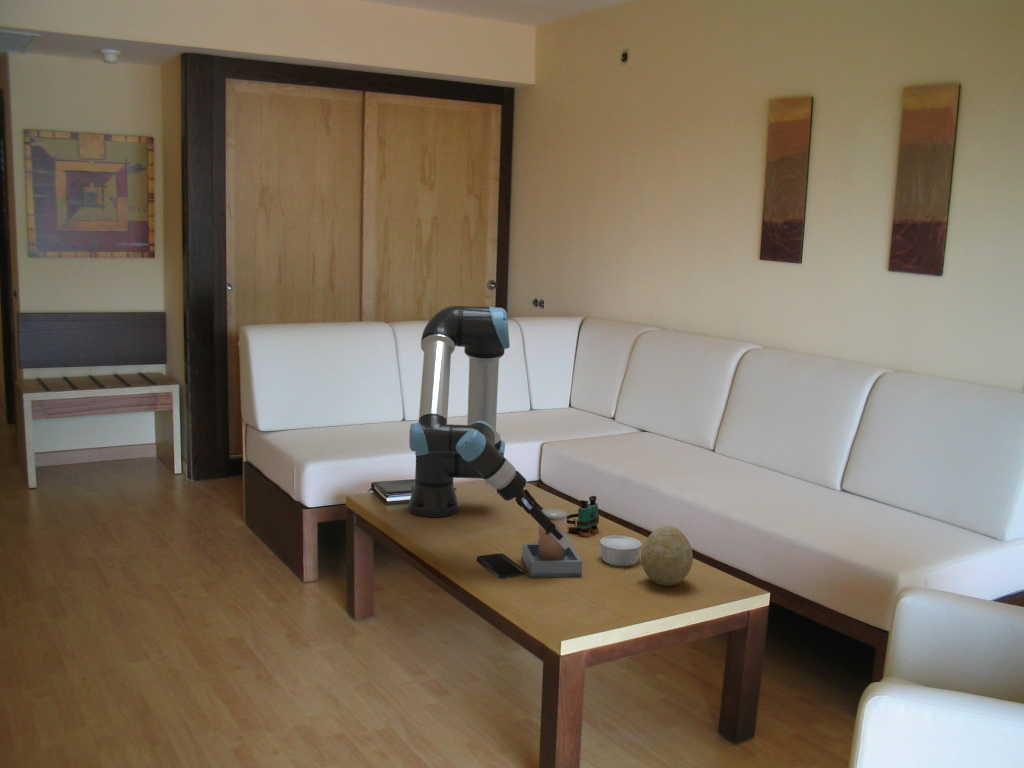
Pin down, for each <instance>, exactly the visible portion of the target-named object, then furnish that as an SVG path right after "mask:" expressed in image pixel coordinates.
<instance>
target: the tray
mask: <svg viewBox="0 0 1024 768" xmlns="http://www.w3.org/2000/svg"><path fill="white" fill-rule="evenodd" d="M521 545H522V546H521V559H522V562H523V564H524V565H525V568H526V570H527V572H528V574H529V576H530V578H531V579H533V578H575V577H576V578H577V577H578V578H579V577H581V578H582V575H583V573H582V572H583V560H582V559H581V557H580V556H579V554H578V552H577V550H576V549H575V548H574V546H573V545H572V544H571V545H570V546H569V547H568V548H567V549H566V550H565V559H564V560H559V561H544V560H541V559H539V558H538V542H537V543H536V542H535V543H522V544H521Z"/></svg>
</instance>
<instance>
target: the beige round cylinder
mask: <svg viewBox="0 0 1024 768" xmlns="http://www.w3.org/2000/svg"><path fill="white" fill-rule="evenodd" d="M541 511H542V512H543V513H544V514H545V515H546V516H547V517H548V518H549V519H550V520H551V521H552V522H553V524H555V525H556V526H557V527H558V528H559V529H560V530H561V531H562V532H563V533H564V534H565V535H566V536H567V524H568V523H567V516H568V512H567V511H566V510H564V509H561V508H553V507H547V508H543V509H542V510H541ZM538 524H539V523H538ZM545 533H546V530H545V529H544V528H543V527H542V526H541V525H540V524H539V525H538V541H537V543H538V558H539V559H541V560H544V561H559V560H564V559H565V549H564V548H563V547H562V546H561V545H560V544H559V543H558V542H557V541H556V540H555V539H554V538H553V537H552V536H551V535H550V534H548V535H546V534H545Z"/></svg>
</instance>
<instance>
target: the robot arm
mask: <svg viewBox="0 0 1024 768" xmlns="http://www.w3.org/2000/svg"><path fill="white" fill-rule="evenodd" d="M510 346H511V344H510V332H509V321H508V314H507V311H506V309H504V308H503V307H496V306H495V307H494V306H492V305H491V306H477V305H475V306H474V305H473V306H471V305H469V306H468V305H449V306H447V307H444V308H442V309H441V310H439V311H438V312H436V313H435V314H434V315H433V316H432V317H431V318H430V319H429V321H428V322H427V323H426V325H425V327H424V329H423V331H422V334H421V339H420V347H421V348H420V349H421V351H422V352H423V361H422V362H423V364H422V372H421V387H420V396H419V398H420V399H419V411H418V422H415V423H412V424H410V428H409V437H408V438H409V443H408V445H409V449H410V450H411V452H413V453H414V455H415V470H414V471H415V473H414V475H415V476H414V487H413V490H412V493H411V495H410V498H409V501H408V511H409V512H410V513H411V514H413V515H417V516H420V517H428V518H439V517H442V518H443V517H448V516H453V515H455V514H457V513H458V512H459V500H458V497H457V493H456V490H455V487H454V478H455V479H483V480H485V482H484V483H485V485H486V486H489V485H490V486H491V488H492V489H494V490H496V492H497V494H498V495H499V496H500V497H501V498H502V499H503V500H504V501H506V502H507V501H511V500H513V499H514V500H515V501H516V504H517V505H518V506H519V507H520V508H522V509H523V510H524V511H525V512H526V514H529V515H530V516H531V517H532V518H533V520H535V521H536V522H537V524H540V525H541V526H542V527H543V528H544V529H545V530H546V533H545V534H546V535H548V534H550V535H551V536H552V537H553V538H554V539H555V540H556V541H557V542H558V543H559V544H560V545H561V546H562V547H563V548H564V549H565V550H566V549H567V548H568V547H569V546H570V545H572V544H573V543H574V542H573V541H572V540H571V539H570V537H568V536H567V534H566V535H565V534H564V533H563V532H562V531H561V530H560V529H559V528H558V527H557V526H556V525H555V524H553V522H552V521H551V520H550V519H549V518H548V517H547V516H546V515H545V514H544V513H543V512H542V511H541V510H542V509H544V508H543V507H542V506H541V505H540V504H539V502H538V501H537V500H536V499H535V497H534V496H533V495H532V494H531V493H530V491H529V489H527V488H525V487H526V485H527V479H526V478H525V476H523V475H522V474H521V473H520V471H518V470H516V469H517V468H515V466H514V465H513V464H512V463H511V462H510V461H509V460H508V459H507V458H506V457H505V456H504V455H505V451H506V450H505V449H506V443H505V441H504V440H502V439H501V434H500V433H499V432H497V414H498V413H497V410H498V409H497V407H498V389H499V388H498V386H499V384H498V383H499V365H500V359H501V358H502V357H503V356H504V355H505V350H507V349H510ZM456 347H461V348H462V347H464V351H463V353H464V354H465V355H466V356H467V357H468V358H469V361H468V392H467V393H468V395H467V422H466V423H467V424H448V415H449V414H448V413H449V398H450V397H449V396H450V395H449V394H450V382H451V381H450V380H451V379H450V378H451V377H450V376H451V361H452V360H451V359H452V354H453V353H454V352H455V350H456ZM524 488H525V489H524Z"/></svg>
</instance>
